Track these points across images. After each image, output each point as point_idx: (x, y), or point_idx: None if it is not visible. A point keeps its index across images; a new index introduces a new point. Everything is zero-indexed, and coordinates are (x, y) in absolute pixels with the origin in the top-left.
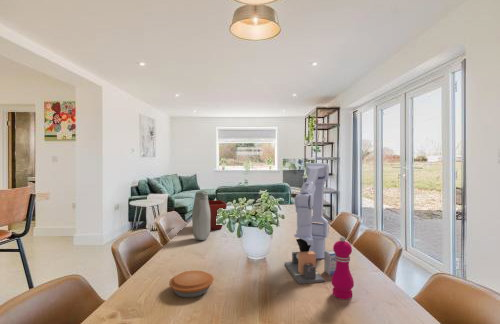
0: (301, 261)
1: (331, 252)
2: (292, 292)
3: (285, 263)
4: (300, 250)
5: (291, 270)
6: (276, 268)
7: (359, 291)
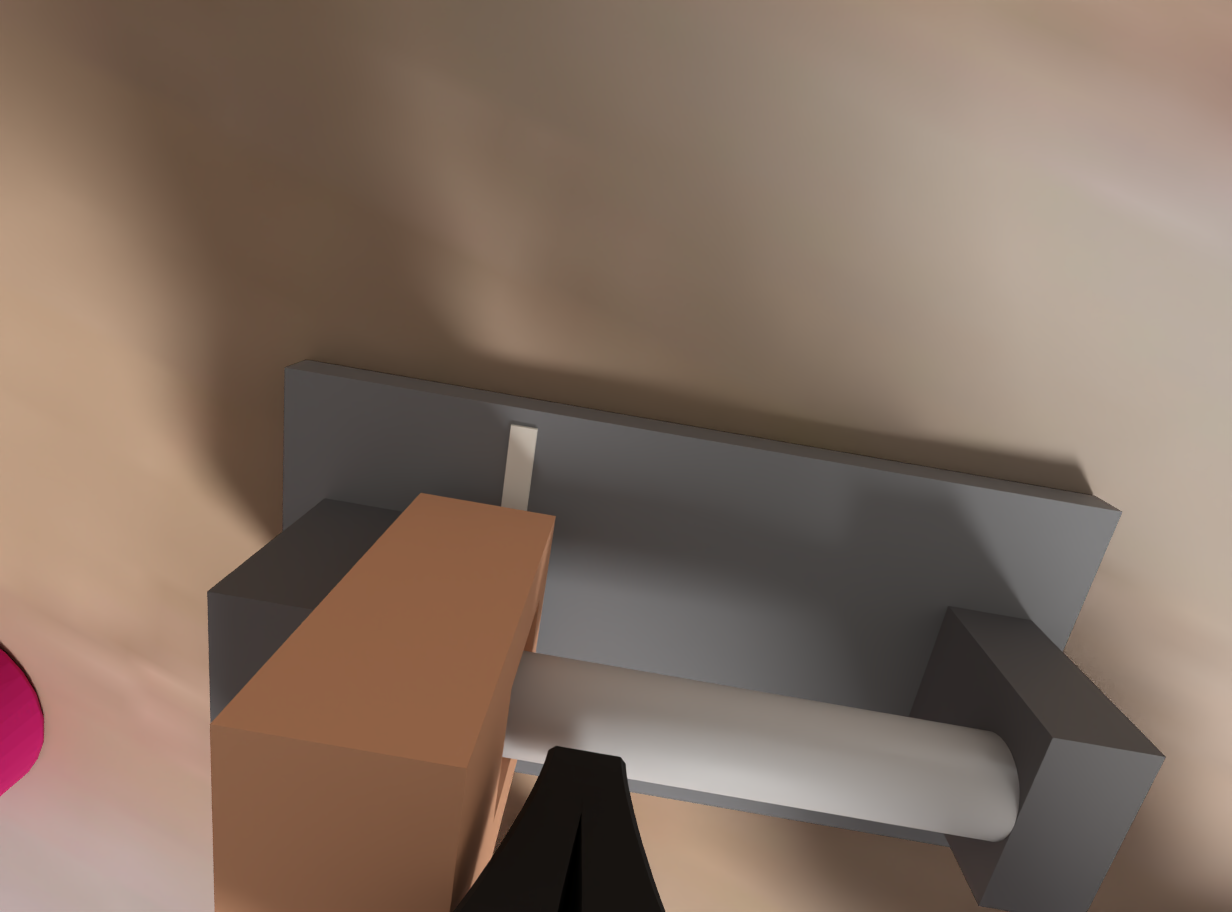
0: (315, 622)
1: None
2: (41, 122)
3: (1075, 500)
4: (585, 887)
5: (710, 448)
6: (1005, 265)
7: (18, 888)
